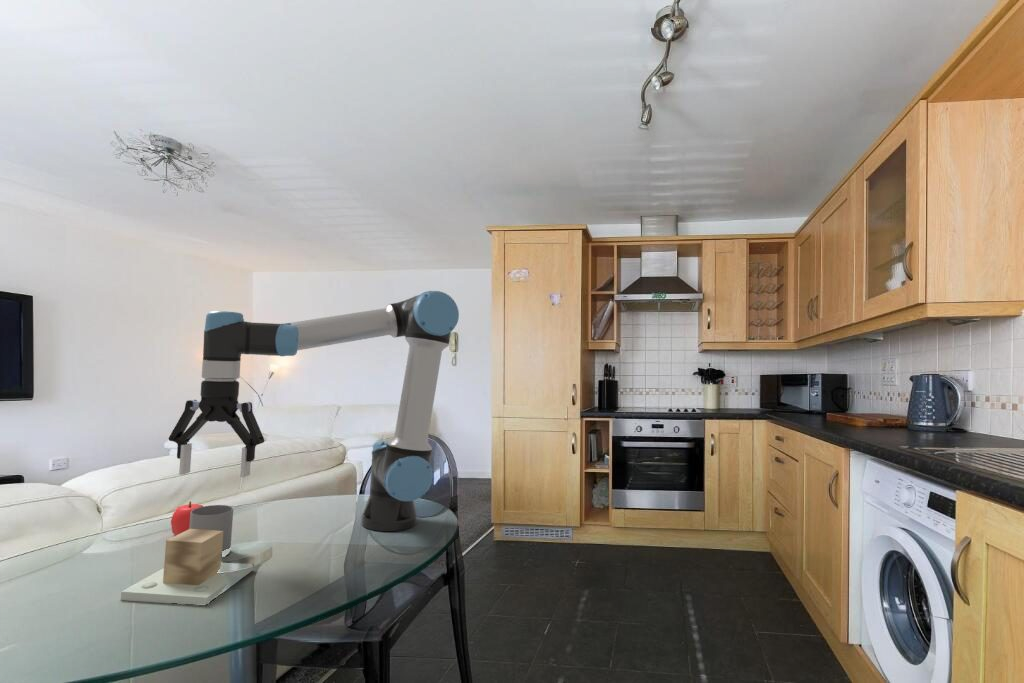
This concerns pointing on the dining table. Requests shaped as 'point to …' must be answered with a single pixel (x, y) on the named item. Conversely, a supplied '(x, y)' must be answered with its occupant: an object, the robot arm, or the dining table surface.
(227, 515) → the cup
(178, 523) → the apple
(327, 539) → the dining table surface
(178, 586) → the plate
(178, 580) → the oak block
